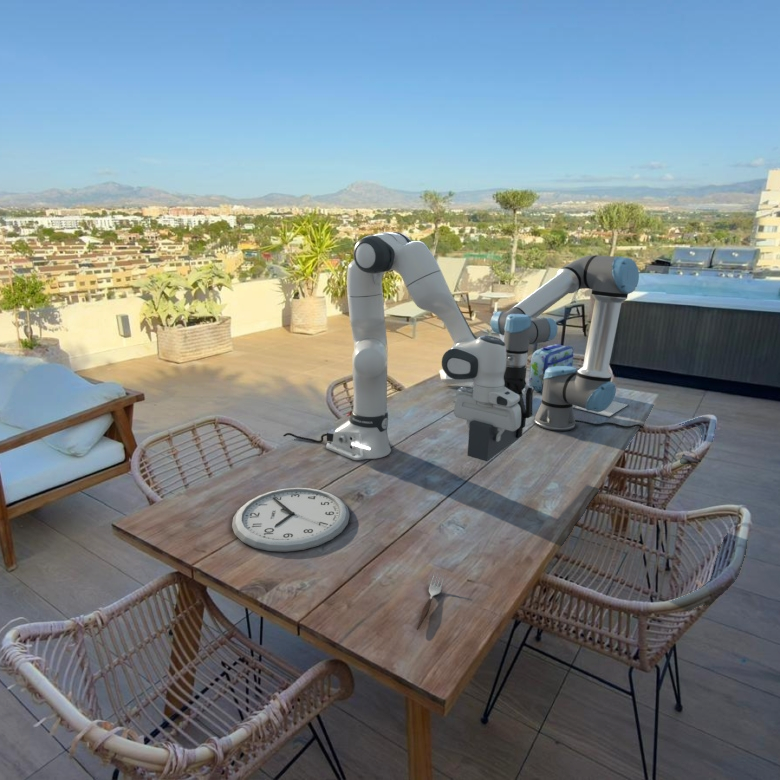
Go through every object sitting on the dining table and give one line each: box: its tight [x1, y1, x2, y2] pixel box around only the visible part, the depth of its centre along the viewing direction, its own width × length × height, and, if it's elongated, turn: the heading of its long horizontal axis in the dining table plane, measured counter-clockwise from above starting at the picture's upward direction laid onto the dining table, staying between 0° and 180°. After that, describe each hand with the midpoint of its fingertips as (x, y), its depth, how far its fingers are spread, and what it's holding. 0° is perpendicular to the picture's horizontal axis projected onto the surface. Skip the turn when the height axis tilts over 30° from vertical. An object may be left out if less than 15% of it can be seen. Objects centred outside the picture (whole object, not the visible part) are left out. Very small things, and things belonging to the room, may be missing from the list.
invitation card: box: [573, 400, 629, 418], centre depth 226 cm, size 21×1×15 cm
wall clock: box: [231, 487, 351, 553], centre depth 136 cm, size 30×2×30 cm
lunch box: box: [528, 344, 574, 393], centre depth 247 cm, size 26×11×21 cm, turn 134°
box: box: [467, 420, 524, 462], centre depth 161 cm, size 25×6×11 cm, turn 143°
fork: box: [416, 572, 445, 631], centre depth 105 cm, size 3×16×2 cm, turn 160°
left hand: (484, 437), depth 154 cm, fingers closed on box, 6 cm apart
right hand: (508, 433), depth 169 cm, fingers closed on box, 6 cm apart
